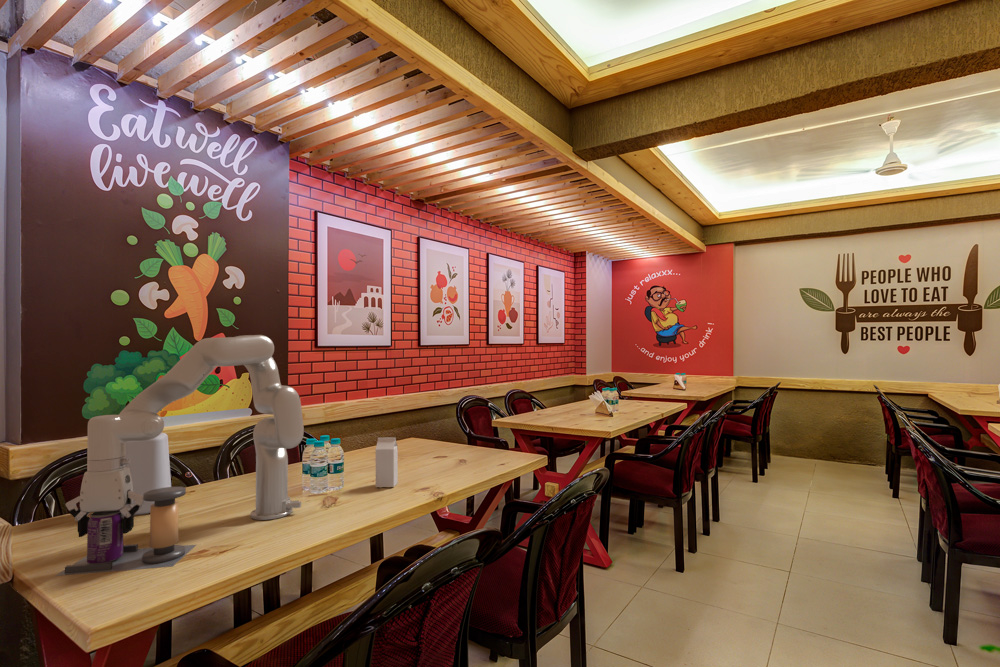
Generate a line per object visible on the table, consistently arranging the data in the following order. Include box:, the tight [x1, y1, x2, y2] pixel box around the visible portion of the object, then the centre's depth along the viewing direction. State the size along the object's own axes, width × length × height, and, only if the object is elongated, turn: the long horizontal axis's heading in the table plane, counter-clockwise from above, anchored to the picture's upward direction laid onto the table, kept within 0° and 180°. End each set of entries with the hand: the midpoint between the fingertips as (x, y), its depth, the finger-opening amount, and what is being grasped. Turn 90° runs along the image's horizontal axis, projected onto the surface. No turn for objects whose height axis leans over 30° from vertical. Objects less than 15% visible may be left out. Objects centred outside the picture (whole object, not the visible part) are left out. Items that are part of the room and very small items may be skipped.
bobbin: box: [142, 486, 187, 564], centre depth 127 cm, size 9×9×16 cm
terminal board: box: [54, 543, 197, 577], centre depth 125 cm, size 25×14×3 cm, turn 100°
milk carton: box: [375, 436, 399, 488], centre depth 197 cm, size 7×7×19 cm
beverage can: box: [86, 510, 125, 564], centre depth 124 cm, size 7×7×12 cm
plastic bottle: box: [121, 432, 172, 517], centre depth 170 cm, size 15×15×28 cm
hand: (106, 533), depth 124 cm, fingers open, 9 cm apart
